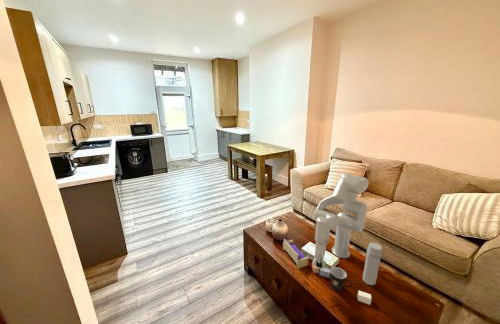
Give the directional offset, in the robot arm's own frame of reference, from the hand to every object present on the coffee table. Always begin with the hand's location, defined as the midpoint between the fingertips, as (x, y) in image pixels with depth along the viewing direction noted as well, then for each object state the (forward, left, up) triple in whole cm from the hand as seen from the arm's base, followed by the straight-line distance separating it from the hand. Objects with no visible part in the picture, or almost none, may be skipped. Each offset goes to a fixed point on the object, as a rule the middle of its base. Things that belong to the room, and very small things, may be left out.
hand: (319, 264), depth 119 cm
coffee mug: (-1, +12, -13) cm, 18 cm away
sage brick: (0, -1, -1) cm, 1 cm away
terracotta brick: (-11, -3, -13) cm, 17 cm away
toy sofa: (-16, -18, -14) cm, 28 cm away
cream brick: (+1, +25, -13) cm, 28 cm away
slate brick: (-9, +3, -13) cm, 16 cm away
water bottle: (-16, +29, -13) cm, 36 cm away
